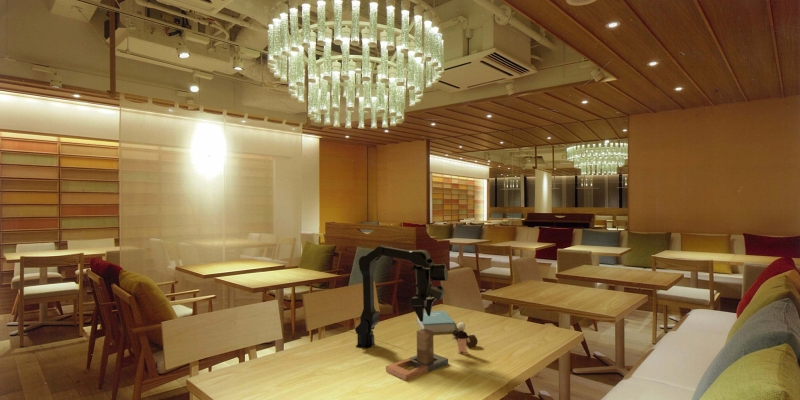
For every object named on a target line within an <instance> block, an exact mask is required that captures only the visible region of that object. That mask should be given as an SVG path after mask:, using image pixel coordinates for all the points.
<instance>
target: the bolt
mask: <svg viewBox="0 0 800 400" xmlns="http://www.w3.org/2000/svg"><path fill="white" fill-rule="evenodd" d="M457 331H460V330H459V329H458V330H457V329H456V330H454V331H453V332H451V333H452V336H454V333H455V332H457ZM467 335H468V334H467ZM468 337H469V340H470V342H469V343H468V342H467V339H466V337H465V339H466V348H469V349H471V348H475V347H477V345H478V338H477V336H476V335H475V334H469V335H468ZM455 340H456V341H457V342H458V336H456V337H455Z"/></svg>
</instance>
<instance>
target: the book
mask: <svg viewBox="0 0 800 400" xmlns="http://www.w3.org/2000/svg"><path fill="white" fill-rule="evenodd" d="M416 323H417V324H418V326H419V328H420V330H421V329H428V330H432V331H433V334H436V333H437V334H439V333H441V334H442V333H453V331H454V330H457V323H456V322H455V321H454V320H453V319H452V317H451V315H449V314H448V313H447V312H446V310H431V314H430V316H427V313H426V310H424V316H423V321H422V322H421V321H420V320H419V318H418V316H417V315H416Z"/></svg>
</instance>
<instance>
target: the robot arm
mask: <svg viewBox="0 0 800 400" xmlns="http://www.w3.org/2000/svg"><path fill="white" fill-rule="evenodd" d="M383 256H384V257H389V258H393V259H394V258H395V259H400V260H405V261H408V262H410V263H411V264H413V265H412V267H411V268H410V271H415V279H416V283H415V284H414V287H416V293H415V296H413V297H411V298H410V299H409V306H411V308H412V309H413V311H414V313H415V314H416V317H417V316H418V318H419V320H420V321H421V322H422V321H423V316H424V311H426V313H427V316H430V314H431V311H432V308H433V303H434V302H435V301H436V300H439V301H440V300H442V299H443V298H444V294H445V293H446V290H445V289H444V285H441V284H440V285H438V286H434V285H433V282H438V281H439V282H442V281H443V282H445V281H446V282H447V281H448V279H449V270H448V268H447V264H446V263H441V264H436V263H435V261H434V259H432V258H431V255H430V253H429V252H428V250H425V249H412V250H409V249H403V248H397V247H391V246H386V245H378V246H377V247H376V248H375V249H373V250H372V251H370V252H368V253H367V254H365V255H362V256H360V257H359V259H358V269H359V271H360V273H361V275H362V292H363V293H362V296H363V297H362V299H363V300H362V301H363V303H362V304H363V308H362V312H361V315H360V320H359V324H358V325H357V326H356V327H355V328H354V331H355V333H356V334H357V344H356V345H355V347H356V348H362V349H370V348H371V347H373V346H374V345H375V343H376V342H375V334H374V330H375V328H376V325H377V324H379V321H380V316H379V315H380V311H379V310H376V308H375V290H374V289H375V286H374V274H375V272H376V269H377V262H378V261H379V260H380V259H382V257H383ZM431 280H432V281H433V282H432V281H431Z"/></svg>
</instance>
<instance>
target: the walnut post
mask: <svg viewBox="0 0 800 400" xmlns="http://www.w3.org/2000/svg"><path fill="white" fill-rule="evenodd" d="M434 354H435V353H434V333H433V331H432V330H428V329H421V328H420V329H418V330H416V356H417V361H418V362H420V363H423V364H425V365H426V364H428V363H431V362H434Z"/></svg>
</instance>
